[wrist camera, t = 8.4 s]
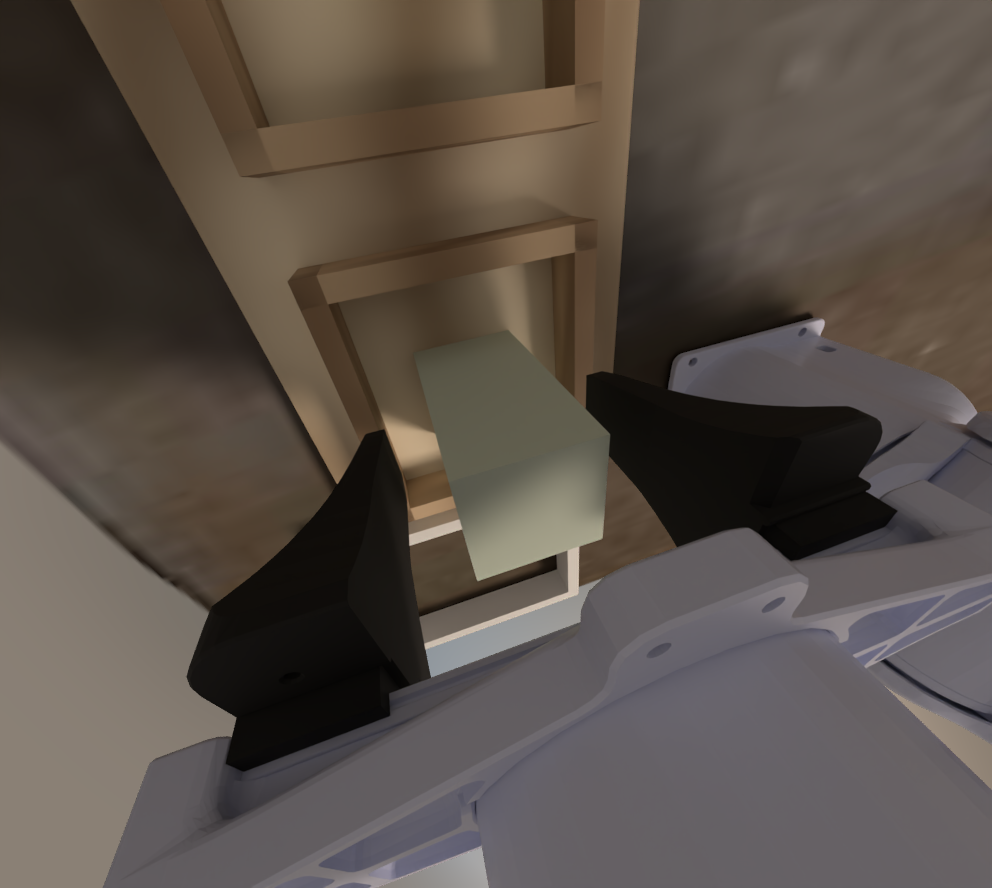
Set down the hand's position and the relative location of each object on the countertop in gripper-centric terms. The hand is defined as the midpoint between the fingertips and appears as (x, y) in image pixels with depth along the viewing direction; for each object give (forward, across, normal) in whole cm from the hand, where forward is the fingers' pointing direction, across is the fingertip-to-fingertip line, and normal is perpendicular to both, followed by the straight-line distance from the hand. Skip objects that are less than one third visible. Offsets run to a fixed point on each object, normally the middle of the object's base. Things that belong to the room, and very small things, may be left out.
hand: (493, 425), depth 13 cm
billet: (+4, 0, 0) cm, 4 cm away
